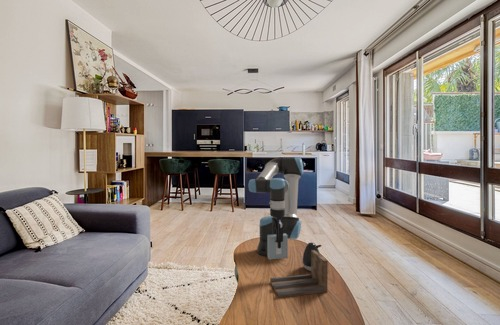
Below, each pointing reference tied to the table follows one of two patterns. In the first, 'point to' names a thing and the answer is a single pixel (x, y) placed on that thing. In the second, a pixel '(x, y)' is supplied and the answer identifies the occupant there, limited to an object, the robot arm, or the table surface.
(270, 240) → the pale grey rectangular block
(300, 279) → the track sill
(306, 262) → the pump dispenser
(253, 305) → the table surface
